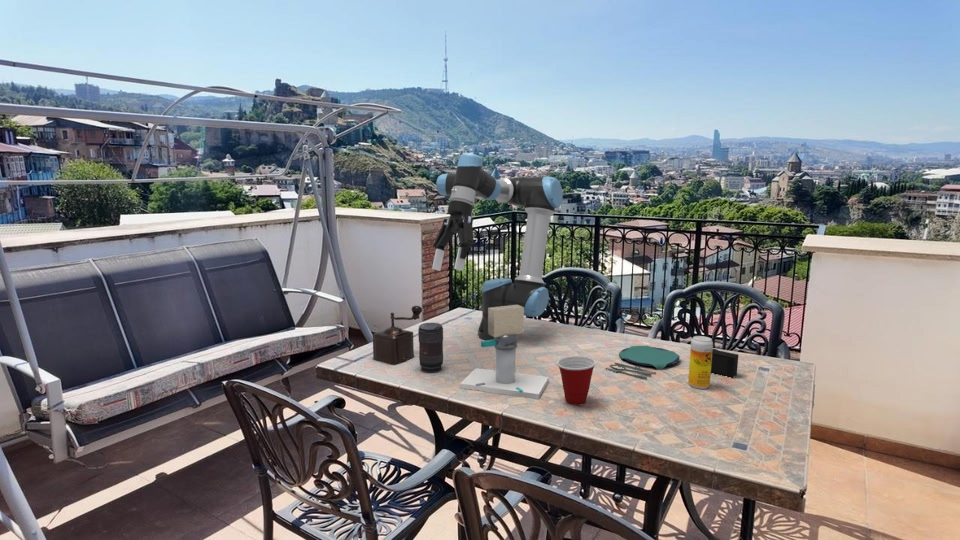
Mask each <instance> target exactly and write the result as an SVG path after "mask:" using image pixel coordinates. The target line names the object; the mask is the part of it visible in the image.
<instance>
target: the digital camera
mask: <svg viewBox="0 0 960 540" xmlns="http://www.w3.org/2000/svg"><path fill="white" fill-rule="evenodd" d="M738 366H739V354H737V353H731V352H727V351H722V350H718V349H716V348H713V351H712V364H711V374H712V373H714V374H713V375H716V374H718V375H717V376H721V375H722V376H721V377H725V376H727V377H726V378H729V377H731V378H730V379H734V378H735V377H736V376H737V375H738ZM734 376H735V377H734ZM733 377H734V378H733Z"/></svg>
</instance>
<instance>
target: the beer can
mask: <svg viewBox="0 0 960 540" xmlns="http://www.w3.org/2000/svg"><path fill="white" fill-rule="evenodd" d="M713 347H714V343H713V340H712V338H711V337H708V336H704V335H703V336H702V335H695V336H693V337H692V339H691V340H690V352H689V353H690V355H689V364H688V368H689V369H688V379H687V380H688V381H687V382H688V384H689V386H690V387H692V388H694V389H698V390H705V389H708V388H709V387H710V385H711V376H712V375H711V374H712V373H711V364H712V351H713V349H714V348H713Z"/></svg>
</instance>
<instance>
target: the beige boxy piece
mask: <svg viewBox="0 0 960 540" xmlns="http://www.w3.org/2000/svg"><path fill="white" fill-rule="evenodd" d="M524 318H525V316H524V307H522V306H520V305H509V306H500V307H491V308H488V334H489V335H491V336H493V337H494V339H493V340H482V341H480V346H481V348H489V347H494V348H495V349H496V348H497V349H501V350H512V349H515V348H516V349H517V348H518V335H520V334H524V331H525V330H524V327H525V326H524V325H525V319H524Z"/></svg>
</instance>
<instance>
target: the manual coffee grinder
mask: <svg viewBox="0 0 960 540" xmlns="http://www.w3.org/2000/svg"><path fill="white" fill-rule="evenodd" d="M410 310H411V312H412V316H411V317H406V316H401V317H400V316H398V317H395V312H390V321H391V322H390V323H391V326H390V327H388V328H386V329H384V330H381V331H378V332H374V333H372V352H373V353H372V355H373V357H372V359H373V360H374V361H378V362H381V363H383V364H384V363H385V364H388V365H392V366H395V365H398V364H401V363H403V362H404V363H405V362H406V361H408V360H410V359H412V358H414V357H415V352H414V332H413V331H410V330H406V329H402V328H401V327H398V326H396V325H395V320H396V321H402V320H403V321H412V320H414V321H416V320H417V319H420V315H421V313H423V308H422V307H421V306H419V305H413V306H412V307H411V309H410Z"/></svg>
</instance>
